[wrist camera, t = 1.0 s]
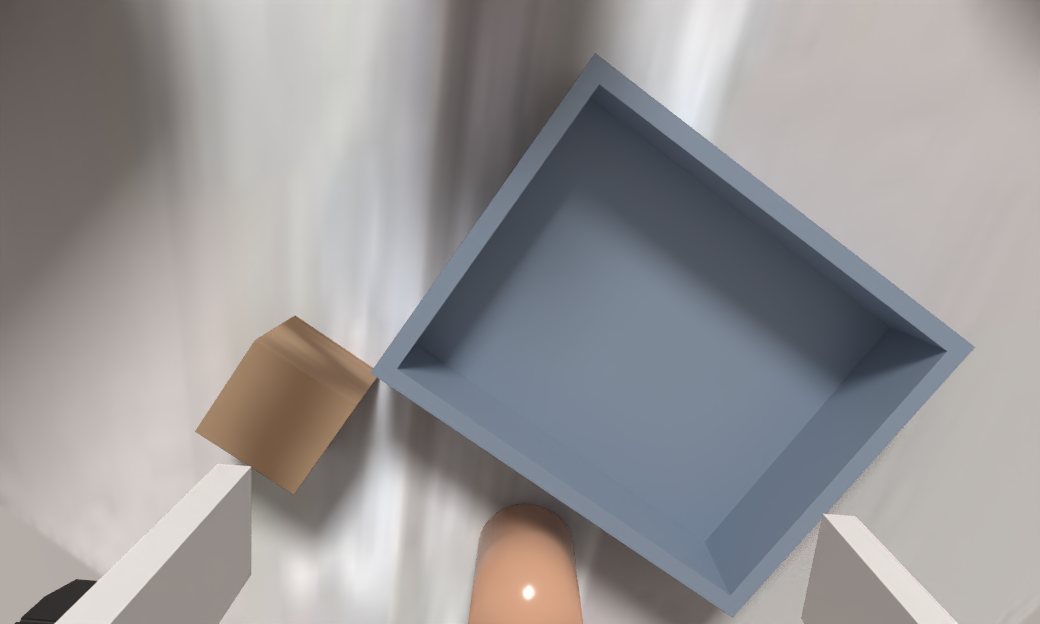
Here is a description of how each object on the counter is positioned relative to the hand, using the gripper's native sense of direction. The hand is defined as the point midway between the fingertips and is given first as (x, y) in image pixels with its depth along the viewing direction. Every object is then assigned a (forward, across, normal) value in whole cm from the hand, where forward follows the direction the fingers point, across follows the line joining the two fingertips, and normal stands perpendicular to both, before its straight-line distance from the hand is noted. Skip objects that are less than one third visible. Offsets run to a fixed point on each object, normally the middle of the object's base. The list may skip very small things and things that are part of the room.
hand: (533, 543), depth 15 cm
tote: (+18, +6, +1) cm, 19 cm away
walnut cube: (+18, -11, -3) cm, 21 cm away
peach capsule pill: (+18, +1, -11) cm, 21 cm away
